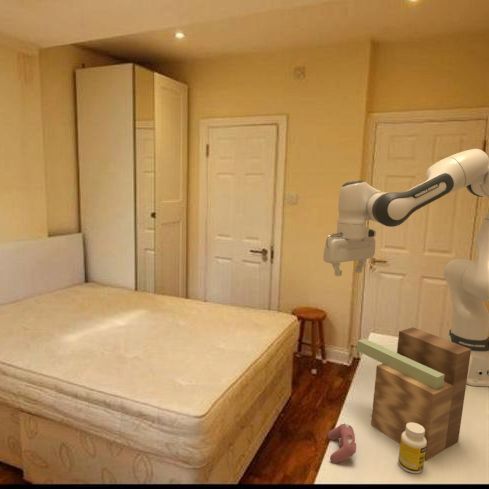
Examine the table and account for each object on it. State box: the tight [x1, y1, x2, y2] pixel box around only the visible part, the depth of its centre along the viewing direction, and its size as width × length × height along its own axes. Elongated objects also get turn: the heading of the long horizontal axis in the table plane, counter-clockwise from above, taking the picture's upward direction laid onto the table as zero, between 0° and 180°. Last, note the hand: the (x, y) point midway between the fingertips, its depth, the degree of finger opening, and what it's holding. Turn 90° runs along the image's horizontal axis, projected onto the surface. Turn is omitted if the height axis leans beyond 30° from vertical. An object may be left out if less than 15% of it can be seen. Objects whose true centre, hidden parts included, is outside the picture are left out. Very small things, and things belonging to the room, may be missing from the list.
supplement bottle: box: [397, 422, 427, 474], centre depth 91 cm, size 5×5×10 cm
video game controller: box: [326, 422, 357, 464], centre depth 96 cm, size 10×5×7 cm, turn 173°
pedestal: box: [370, 327, 471, 462], centre depth 102 cm, size 16×14×25 cm
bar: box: [356, 338, 444, 389], centre depth 104 cm, size 24×3×3 cm, turn 33°
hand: (348, 274), depth 130 cm, fingers open, 8 cm apart
